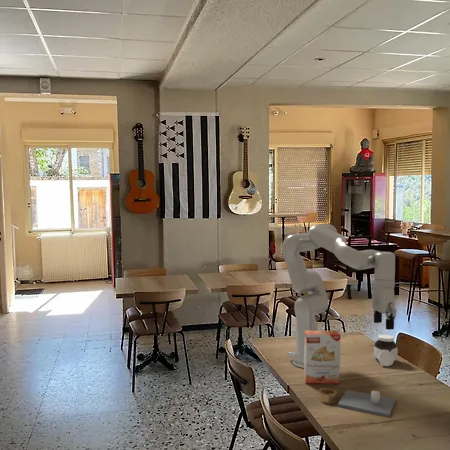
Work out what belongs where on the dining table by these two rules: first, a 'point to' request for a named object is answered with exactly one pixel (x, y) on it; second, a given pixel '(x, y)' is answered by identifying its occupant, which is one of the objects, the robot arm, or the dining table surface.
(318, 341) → the cracker box
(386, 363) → the spread jar
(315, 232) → the robot arm
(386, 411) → the base
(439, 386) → the dining table surface
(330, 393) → the ring
